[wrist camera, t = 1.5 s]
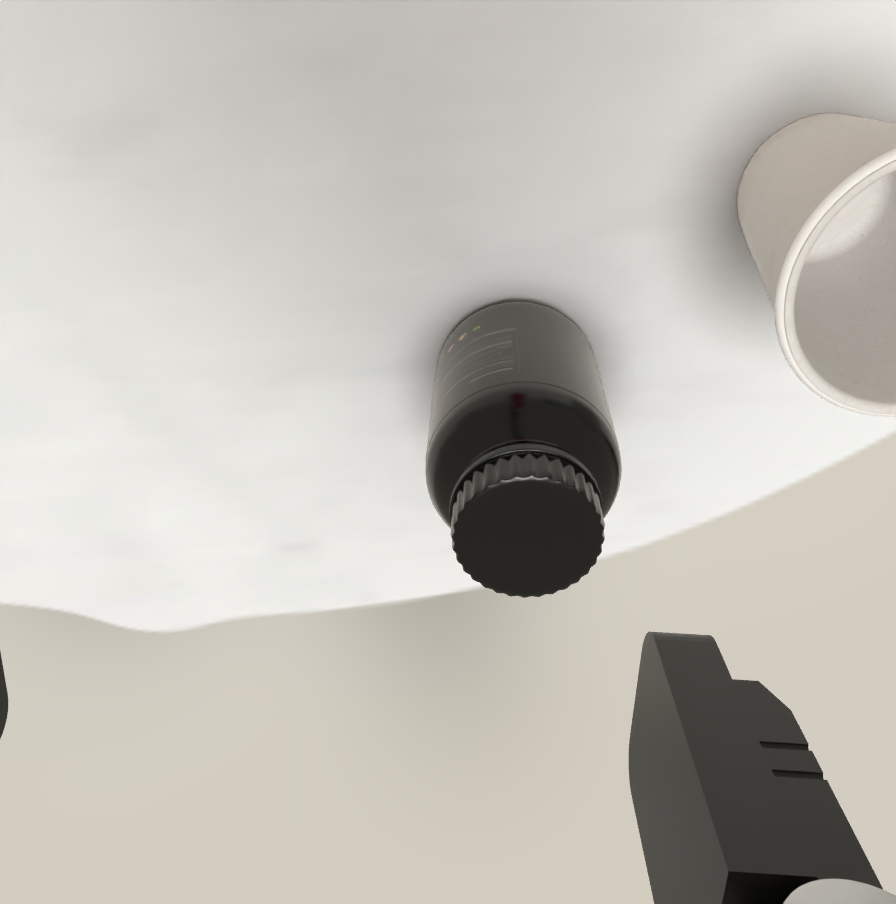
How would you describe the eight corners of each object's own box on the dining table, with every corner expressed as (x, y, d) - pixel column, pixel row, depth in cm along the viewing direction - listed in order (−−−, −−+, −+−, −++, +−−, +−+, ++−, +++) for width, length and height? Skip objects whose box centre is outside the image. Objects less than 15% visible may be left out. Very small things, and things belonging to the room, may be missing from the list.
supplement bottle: (627, 376, 37) (684, 552, 27) (505, 465, 39) (515, 656, 29) (525, 260, 34) (544, 406, 24) (401, 363, 37) (371, 534, 27)
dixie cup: (776, 336, 36) (869, 467, 27) (657, 184, 32) (720, 279, 24) (970, 199, 32) (1145, 299, 24) (859, 17, 29) (1014, 58, 21)
